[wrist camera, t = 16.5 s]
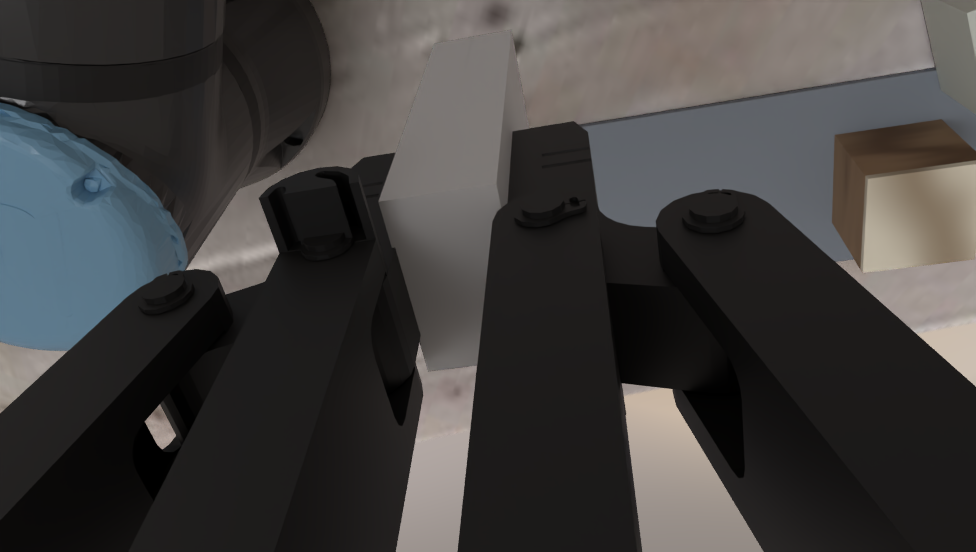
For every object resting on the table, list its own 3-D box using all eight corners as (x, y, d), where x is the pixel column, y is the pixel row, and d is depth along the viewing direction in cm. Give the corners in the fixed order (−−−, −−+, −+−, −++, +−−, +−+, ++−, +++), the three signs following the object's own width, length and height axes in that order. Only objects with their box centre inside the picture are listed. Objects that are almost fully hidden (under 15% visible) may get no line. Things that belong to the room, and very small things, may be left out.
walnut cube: (974, 259, 47) (932, 209, 52) (987, 162, 44) (941, 119, 49) (862, 273, 48) (831, 222, 53) (867, 178, 45) (834, 134, 50)
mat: (541, 297, 58) (541, 300, 57) (510, 136, 51) (510, 138, 51) (1043, 230, 53) (1046, 233, 53) (1076, 45, 47) (1080, 47, 46)
